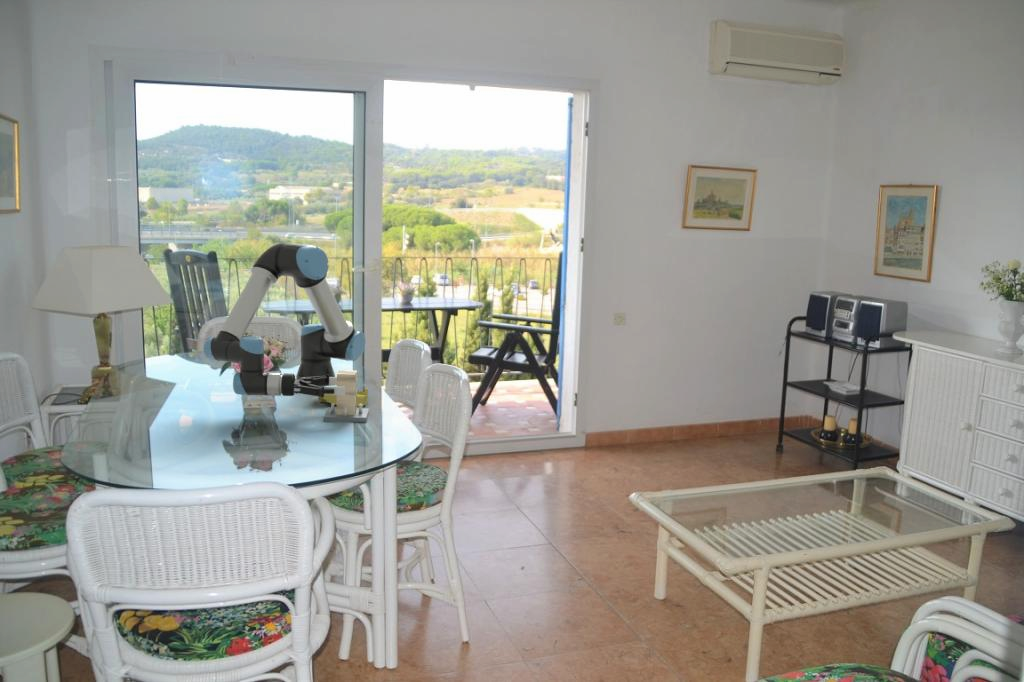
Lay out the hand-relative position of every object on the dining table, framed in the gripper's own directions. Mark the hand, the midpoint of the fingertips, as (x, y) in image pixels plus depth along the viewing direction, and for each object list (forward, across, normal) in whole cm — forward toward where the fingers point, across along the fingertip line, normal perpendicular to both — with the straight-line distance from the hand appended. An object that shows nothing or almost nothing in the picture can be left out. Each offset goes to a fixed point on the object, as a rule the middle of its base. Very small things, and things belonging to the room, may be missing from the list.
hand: (346, 386), depth 275 cm
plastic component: (-4, -19, -11) cm, 23 cm away
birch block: (0, 0, -9) cm, 9 cm away
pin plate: (0, 0, -11) cm, 11 cm away
